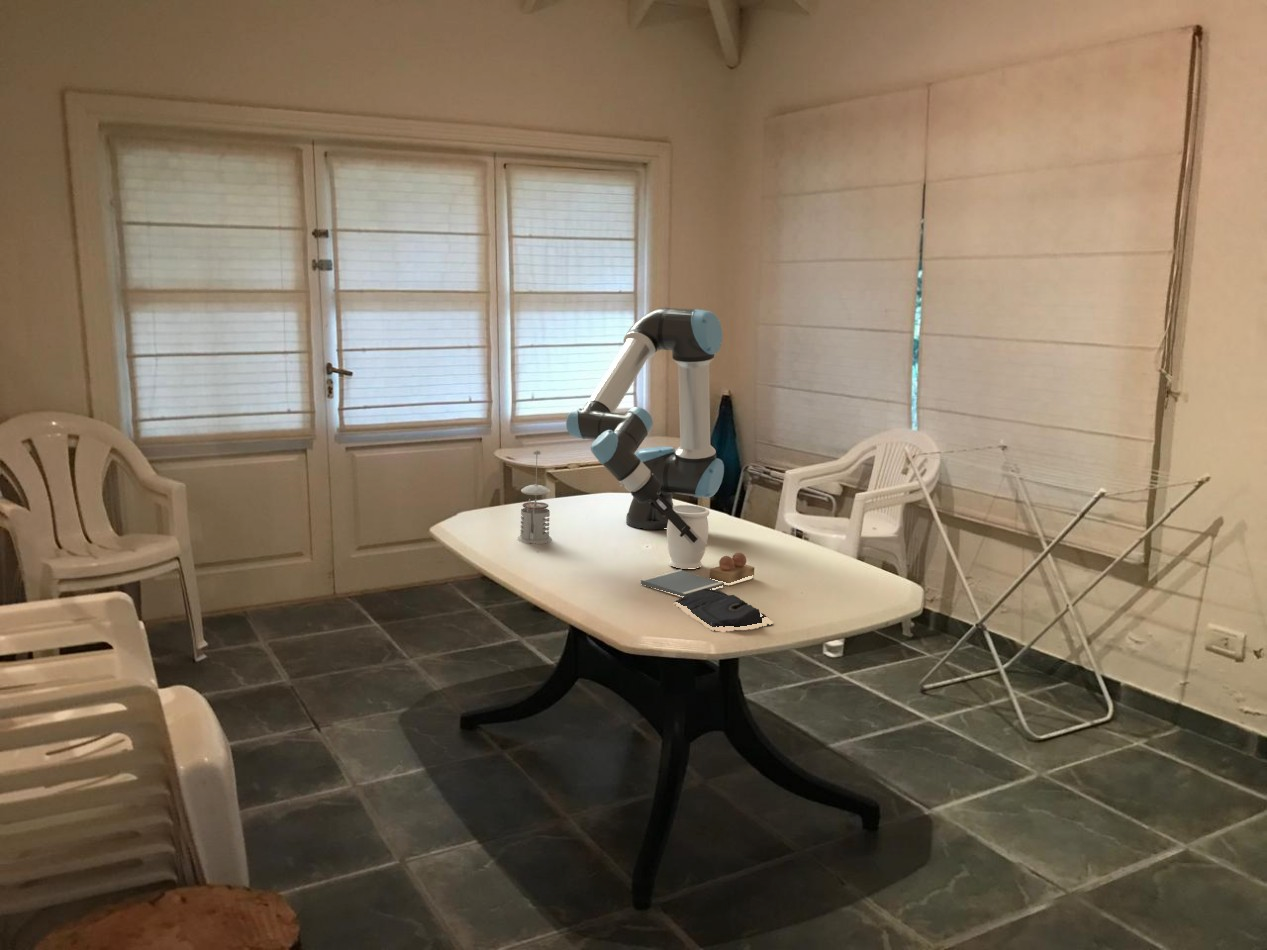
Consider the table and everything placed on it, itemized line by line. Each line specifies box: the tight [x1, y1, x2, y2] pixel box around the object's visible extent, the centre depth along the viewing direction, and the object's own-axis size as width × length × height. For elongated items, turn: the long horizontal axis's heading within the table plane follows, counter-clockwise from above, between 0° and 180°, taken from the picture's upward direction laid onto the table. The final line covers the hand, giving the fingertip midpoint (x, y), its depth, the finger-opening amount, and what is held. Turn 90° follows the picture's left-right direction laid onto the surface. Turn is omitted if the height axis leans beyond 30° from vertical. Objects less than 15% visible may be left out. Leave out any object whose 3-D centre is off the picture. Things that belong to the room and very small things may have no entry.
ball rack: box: [709, 552, 755, 583], centre depth 250 cm, size 10×6×6 cm, turn 136°
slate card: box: [640, 569, 725, 597], centre depth 243 cm, size 14×14×1 cm
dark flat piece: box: [674, 589, 768, 627], centre depth 224 cm, size 15×22×5 cm
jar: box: [666, 504, 710, 570], centre depth 259 cm, size 11×10×15 cm
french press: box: [517, 449, 553, 545], centre depth 277 cm, size 10×12×25 cm
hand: (698, 543), depth 260 cm, fingers closed on jar, 10 cm apart
